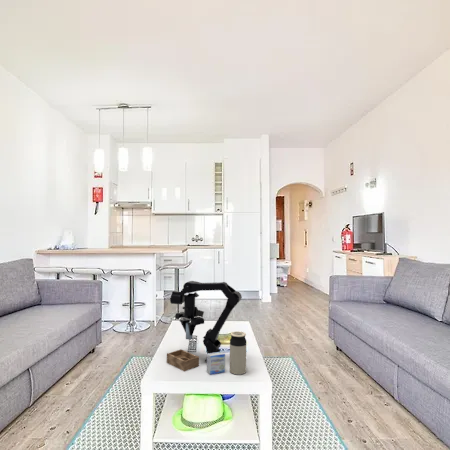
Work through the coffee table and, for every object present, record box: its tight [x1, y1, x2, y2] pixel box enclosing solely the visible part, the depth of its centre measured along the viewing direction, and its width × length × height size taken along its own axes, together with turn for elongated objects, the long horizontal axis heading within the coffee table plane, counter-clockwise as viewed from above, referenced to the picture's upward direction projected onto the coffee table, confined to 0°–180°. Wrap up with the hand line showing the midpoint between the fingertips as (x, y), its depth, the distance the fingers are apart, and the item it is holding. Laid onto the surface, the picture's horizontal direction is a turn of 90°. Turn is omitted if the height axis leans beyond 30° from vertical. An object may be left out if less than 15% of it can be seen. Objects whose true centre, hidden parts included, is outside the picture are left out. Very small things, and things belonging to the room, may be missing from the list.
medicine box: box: [206, 351, 226, 376], centre depth 150 cm, size 8×4×9 cm, turn 113°
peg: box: [185, 321, 194, 340], centre depth 167 cm, size 4×4×8 cm
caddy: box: [166, 348, 200, 372], centre depth 158 cm, size 15×9×4 cm, turn 46°
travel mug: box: [229, 330, 247, 375], centre depth 151 cm, size 8×8×18 cm
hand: (189, 334), depth 167 cm, fingers closed on peg, 4 cm apart
